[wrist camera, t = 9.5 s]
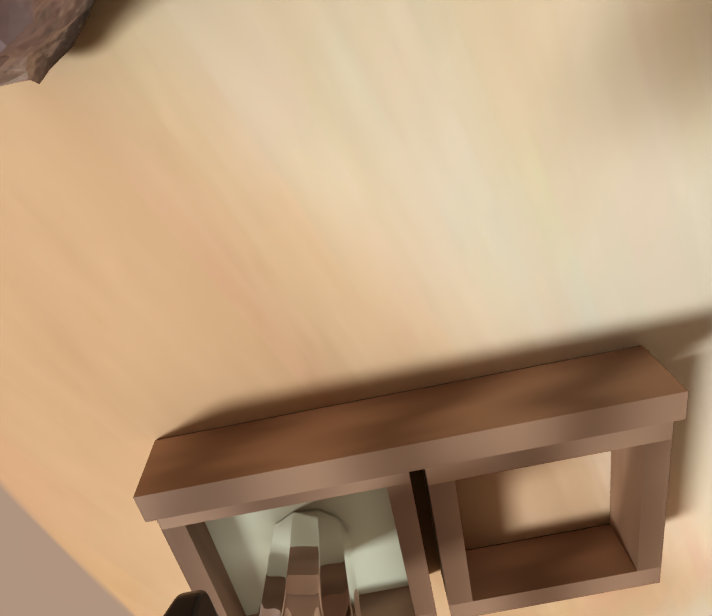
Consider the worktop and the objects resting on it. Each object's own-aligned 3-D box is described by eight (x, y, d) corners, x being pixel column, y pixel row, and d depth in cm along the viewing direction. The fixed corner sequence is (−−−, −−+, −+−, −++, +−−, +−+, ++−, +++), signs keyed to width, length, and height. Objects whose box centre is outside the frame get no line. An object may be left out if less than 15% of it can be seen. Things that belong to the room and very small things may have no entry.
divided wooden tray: (642, 345, 22) (688, 391, 19) (632, 537, 26) (668, 595, 24) (155, 440, 22) (133, 497, 20) (233, 611, 27) (224, 676, 24)
